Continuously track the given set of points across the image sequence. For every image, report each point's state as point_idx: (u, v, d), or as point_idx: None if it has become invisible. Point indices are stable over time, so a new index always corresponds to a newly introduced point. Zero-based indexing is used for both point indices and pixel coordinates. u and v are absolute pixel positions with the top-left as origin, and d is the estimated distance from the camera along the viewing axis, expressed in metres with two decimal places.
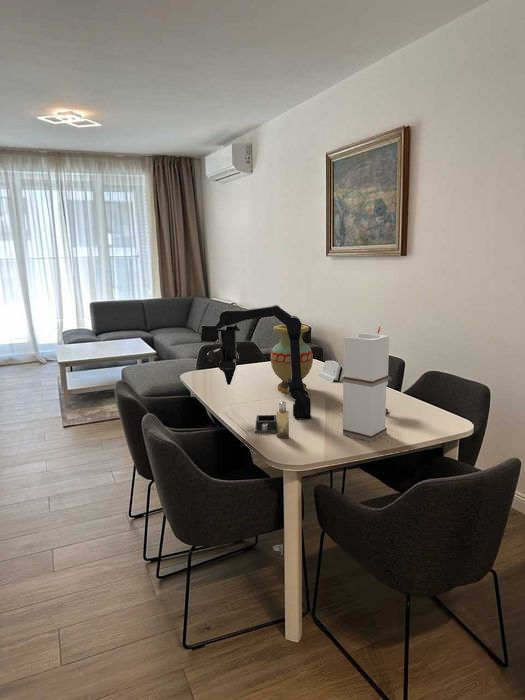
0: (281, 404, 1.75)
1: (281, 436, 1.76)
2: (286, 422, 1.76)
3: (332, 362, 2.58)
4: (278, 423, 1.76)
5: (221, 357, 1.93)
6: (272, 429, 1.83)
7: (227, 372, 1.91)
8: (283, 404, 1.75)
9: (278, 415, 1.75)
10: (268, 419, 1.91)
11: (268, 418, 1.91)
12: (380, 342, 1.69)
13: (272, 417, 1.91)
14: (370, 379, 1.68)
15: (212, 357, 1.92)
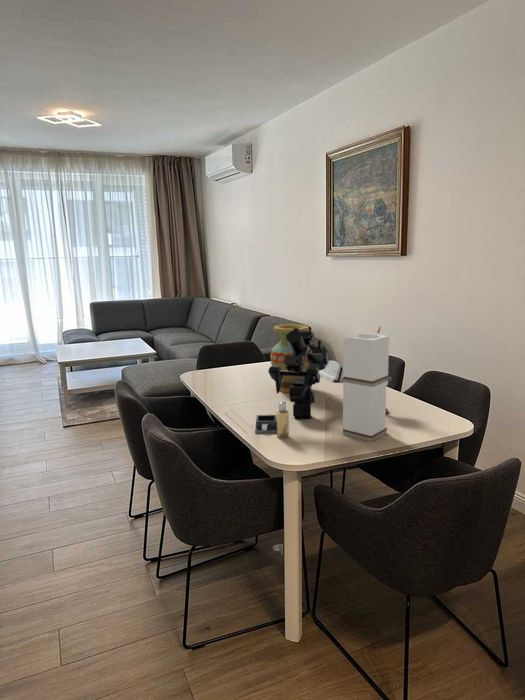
0: (281, 404, 1.75)
1: (281, 436, 1.76)
2: (286, 422, 1.76)
3: (332, 362, 2.58)
4: (278, 423, 1.76)
5: (301, 366, 1.85)
6: (272, 429, 1.83)
7: None
8: (283, 404, 1.75)
9: (278, 415, 1.75)
10: (268, 419, 1.91)
11: (268, 418, 1.91)
12: (380, 342, 1.69)
13: (272, 417, 1.91)
14: (370, 379, 1.68)
15: (303, 361, 1.82)
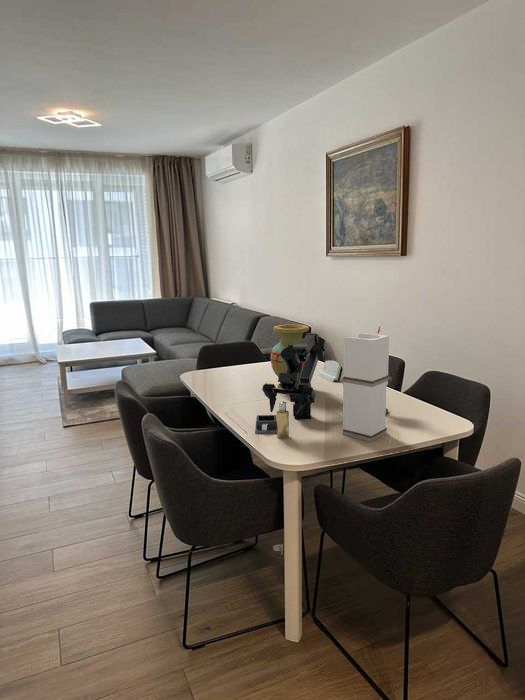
0: (281, 404, 1.75)
1: (281, 436, 1.76)
2: (286, 422, 1.76)
3: (332, 362, 2.58)
4: (278, 422, 1.76)
5: (295, 384, 1.80)
6: (272, 429, 1.83)
7: (302, 401, 1.78)
8: (283, 404, 1.75)
9: (278, 415, 1.75)
10: (268, 419, 1.91)
11: (268, 418, 1.91)
12: (380, 342, 1.69)
13: (272, 417, 1.91)
14: (370, 379, 1.68)
15: (297, 379, 1.77)
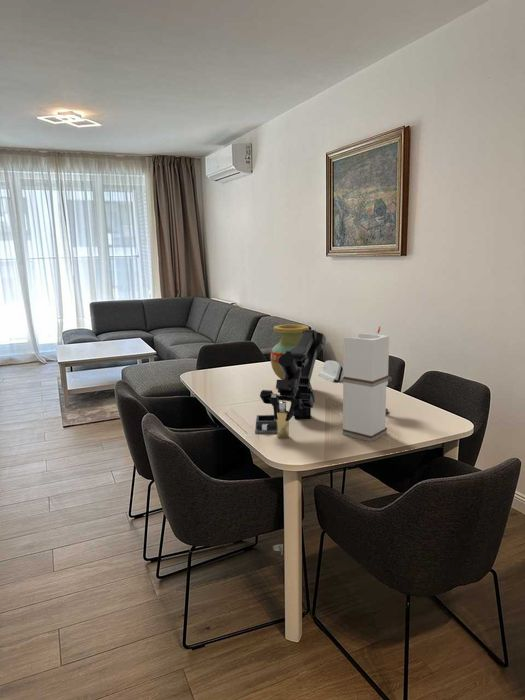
0: (281, 404, 1.75)
1: (281, 436, 1.76)
2: (286, 422, 1.76)
3: (332, 362, 2.58)
4: (278, 422, 1.76)
5: (293, 391, 1.78)
6: (272, 429, 1.83)
7: (293, 407, 1.77)
8: (283, 404, 1.75)
9: (278, 415, 1.75)
10: (268, 419, 1.91)
11: (268, 418, 1.91)
12: (380, 342, 1.69)
13: (272, 417, 1.91)
14: (370, 379, 1.68)
15: (295, 386, 1.75)
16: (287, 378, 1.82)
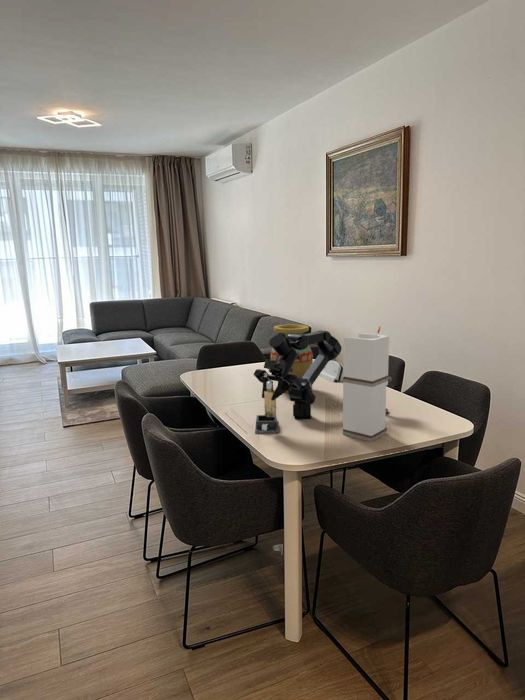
0: (267, 383, 1.80)
1: (267, 414, 1.81)
2: (272, 401, 1.80)
3: (332, 362, 2.58)
4: (264, 401, 1.82)
5: (282, 372, 1.81)
6: (272, 429, 1.83)
7: (280, 388, 1.81)
8: (269, 383, 1.80)
9: (264, 394, 1.81)
10: (268, 419, 1.91)
11: (268, 418, 1.91)
12: (380, 342, 1.69)
13: (272, 417, 1.91)
14: (370, 379, 1.68)
15: (281, 366, 1.79)
16: (280, 359, 1.86)
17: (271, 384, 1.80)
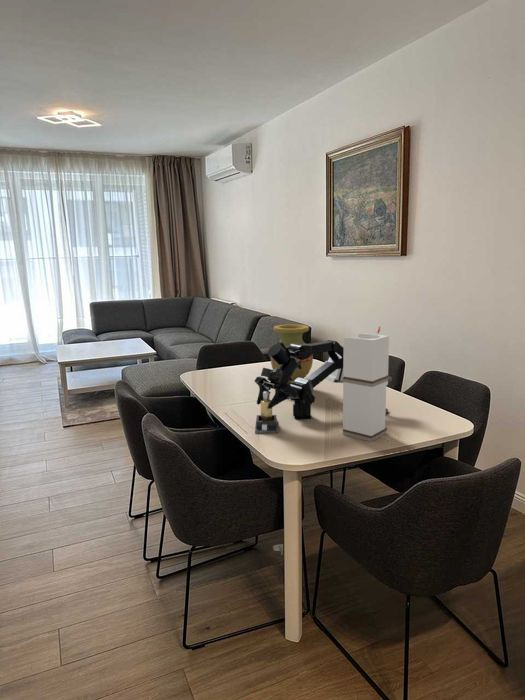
0: (263, 393, 1.85)
1: None
2: (267, 410, 1.85)
3: None
4: None
5: (279, 380, 1.85)
6: (272, 429, 1.83)
7: (278, 396, 1.84)
8: (265, 393, 1.85)
9: (261, 403, 1.86)
10: None
11: None
12: (380, 342, 1.69)
13: (272, 417, 1.91)
14: (370, 379, 1.68)
15: (277, 375, 1.82)
16: (279, 368, 1.89)
17: (267, 394, 1.85)
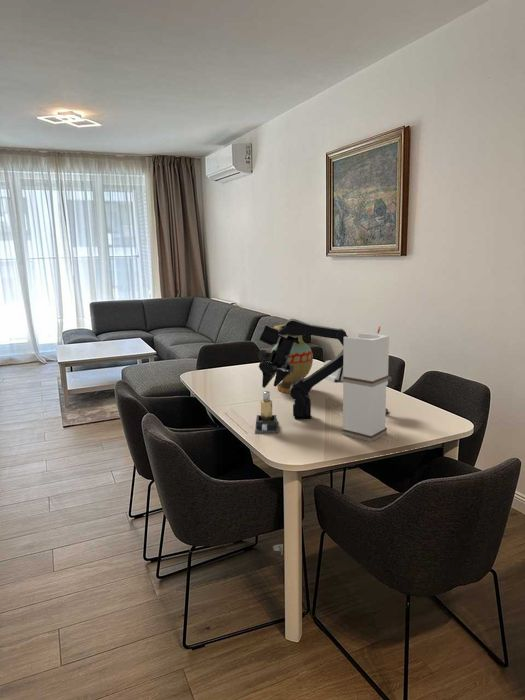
0: (263, 393, 1.85)
1: None
2: (267, 411, 1.85)
3: None
4: None
5: (269, 360, 1.95)
6: (272, 429, 1.83)
7: (266, 375, 1.92)
8: (265, 394, 1.85)
9: (261, 403, 1.86)
10: None
11: None
12: (380, 342, 1.69)
13: (272, 417, 1.91)
14: (370, 379, 1.68)
15: (261, 355, 1.95)
16: None
17: (267, 394, 1.85)
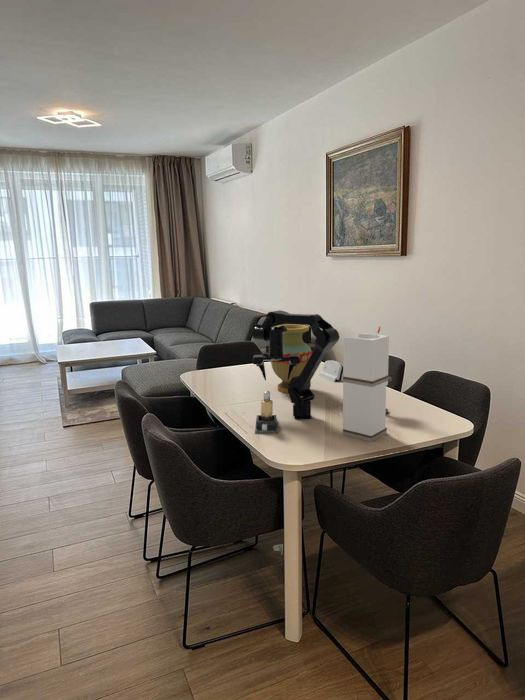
0: (264, 393, 1.85)
1: None
2: (267, 411, 1.85)
3: (333, 362, 2.59)
4: (261, 410, 1.87)
5: None
6: (272, 429, 1.83)
7: None
8: (266, 393, 1.85)
9: (261, 403, 1.86)
10: None
11: None
12: (380, 342, 1.69)
13: (272, 417, 1.91)
14: (370, 379, 1.68)
15: (266, 351, 2.09)
16: None
17: (267, 394, 1.85)
